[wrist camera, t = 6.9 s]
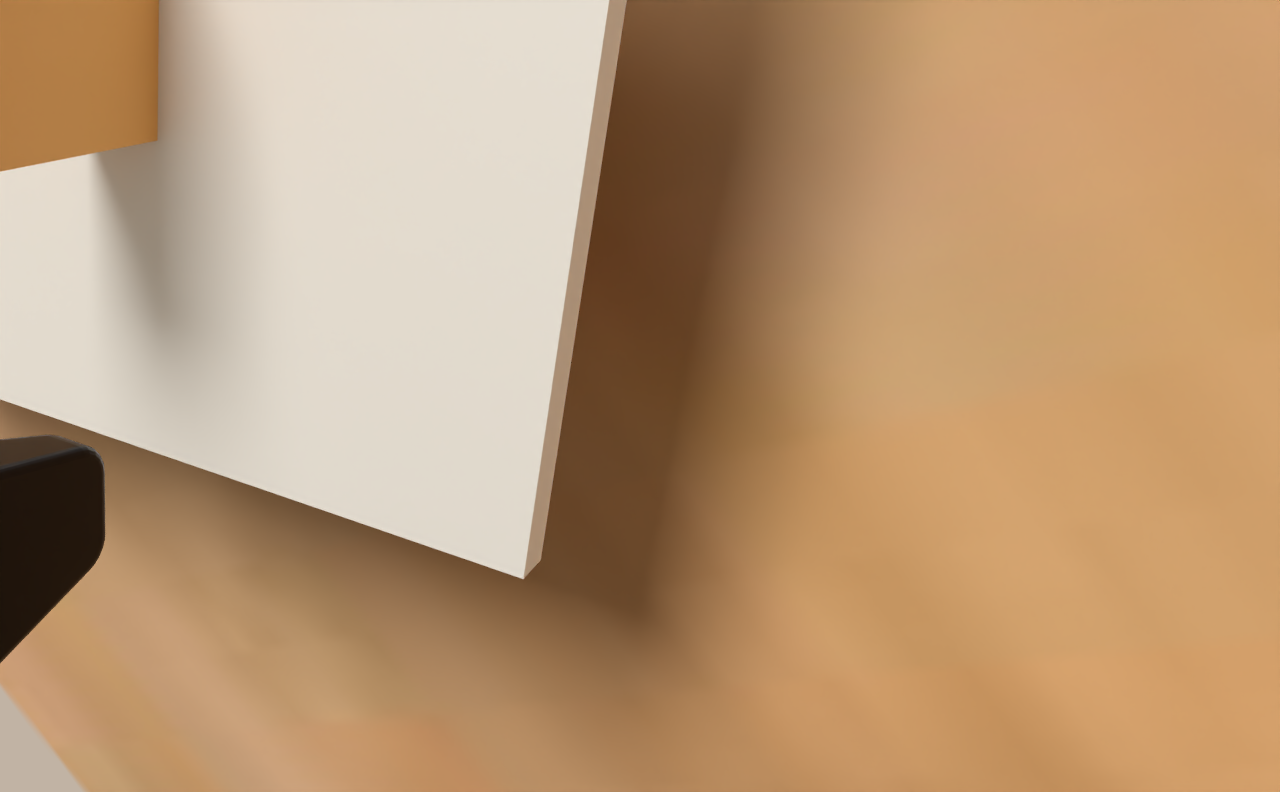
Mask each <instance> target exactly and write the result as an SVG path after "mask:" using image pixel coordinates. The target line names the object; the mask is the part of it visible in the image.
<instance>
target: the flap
mask: <svg viewBox="0 0 1280 792" xmlns="http://www.w3.org/2000/svg"><path fill="white" fill-rule="evenodd" d="M626 2H627V0H0V399H1V400H4V401H6V402H9V403H12V404H15V405H18V406H21V407H24V408H27V409H30V410H33V411H36V412H38V413H41V414H44V415H47V416H50V417H53V418H56V419H59V420H62V421H65V422H68V423H70V424H73V425H76V426H79V427H82V428H85V429H88V430H91V431H94V432H97V433H100V434H102V435H105V436H108V437H111V438H114V439H117V440H120V441H123V442H126V443H129V444H132V445H134V446H137V447H140V448H143V449H146V450H149V451H152V452H155V453H158V454H161V455H164V456H166V457H169V458H172V459H175V460H178V461H181V462H184V463H187V464H190V465H193V466H196V467H198V468H201V469H204V470H207V471H210V472H213V473H216V474H219V475H222V476H225V477H228V478H231V479H233V480H236V481H239V482H242V483H245V484H248V485H251V486H254V487H257V488H260V489H263V490H265V491H268V492H271V493H274V494H277V495H280V496H283V497H286V498H289V499H292V500H295V501H297V502H300V503H303V504H306V505H309V506H312V507H315V508H318V509H321V510H324V511H327V512H329V513H332V514H335V515H338V516H341V517H344V518H347V519H350V520H353V521H356V522H359V523H361V524H364V525H367V526H370V527H373V528H376V529H379V530H382V531H385V532H388V533H391V534H393V535H396V536H399V537H402V538H405V539H408V540H411V541H414V542H417V543H420V544H423V545H425V546H428V547H431V548H434V549H437V550H440V551H443V552H446V553H449V554H452V555H455V556H457V557H460V558H463V559H466V560H469V561H472V562H475V563H478V564H481V565H484V566H487V567H489V568H492V569H495V570H498V571H501V572H504V573H507V574H510V575H513V576H516V577H519V578H521V579H524V578H525V577H526V576H527V575H528V574H529V572H530V571H531V570H532V569H533V568H534V567H535V566H536V565H537V564H538V563H539V562H540V561H541V556H542V549H543V543H544V536H545V530H546V523H547V517H548V510H549V504H550V497H551V490H552V484H553V477H554V471H555V464H556V458H557V451H558V445H559V438H560V432H561V425H562V419H563V412H564V406H565V399H566V393H567V386H568V380H569V373H570V367H571V360H572V354H573V347H574V341H575V334H576V328H577V321H578V315H579V308H580V302H581V295H582V289H583V282H584V276H585V269H586V263H587V256H588V250H589V243H590V237H591V230H592V224H593V217H594V211H595V204H596V198H597V191H598V185H599V178H600V172H601V165H602V159H603V152H604V146H605V139H606V133H607V126H608V120H609V113H610V107H611V100H612V94H613V87H614V80H615V74H616V67H617V61H618V54H619V48H620V41H621V35H622V28H623V22H624V15H625V9H626Z"/></svg>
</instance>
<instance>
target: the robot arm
mask: <svg viewBox="0 0 1280 792" xmlns="http://www.w3.org/2000/svg"><path fill="white" fill-rule="evenodd" d="M104 541H105V471H104V463H103V461H102V458H101V456H100V454H99V453H98V452H97V451H96V450H95V449H93V448H92V447H89V446H86V445H83V444H80V443H77V442H75V441H72V440H69V439H66V438H63V437H60V436H55V435H40V436H30V437H20V438H10V439H0V663H1V662H2V661H3V660H4V659H5V658H6V657H7V656H8V655H9V654H10V652H11V651H12V650H13V649H14V648H15V647H16V646H17V645H18V644H19V643H20V642H21V641H22V640H23V639H24V638H25V637H26V636H27V635H28V634H29V633H30V632H31V631H32V630H33V629H34V627H35V626H36V625H37V624H38V623H39V622H40V621H41V620H42V619H43V618H44V617H45V616H46V615H47V614H48V613H49V612H50V611H51V610H52V609H53V608H54V607H55V606H56V605H57V604H58V603H59V601H60V600H61V599H62V598H63V597H64V596H65V595H66V594H67V593H68V592H69V591H70V590H71V589H72V588H73V587H74V586H75V585H76V584H77V583H78V582H79V581H80V580H81V579H82V578H83V577H84V575H85V574H86V573H87V572H88V571H89V570H90V569H91V568H92V567H93V566H94V564H95V563H96V561H97V559H98V558H99V556H100V553H101V551H102V549H103V545H104Z"/></svg>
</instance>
